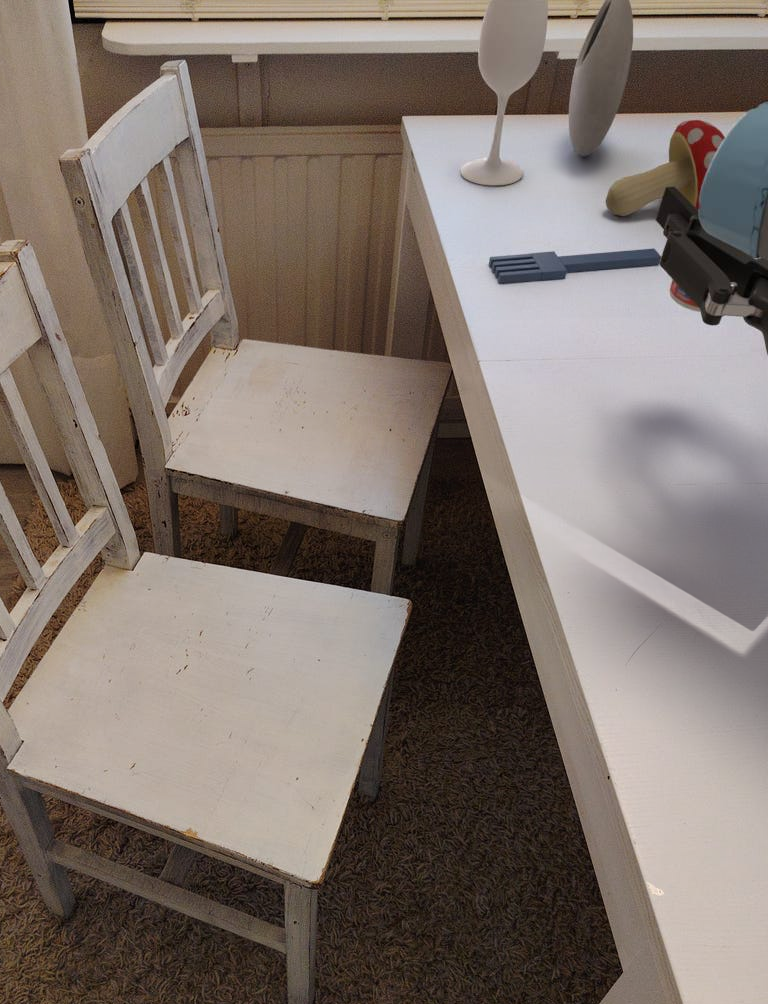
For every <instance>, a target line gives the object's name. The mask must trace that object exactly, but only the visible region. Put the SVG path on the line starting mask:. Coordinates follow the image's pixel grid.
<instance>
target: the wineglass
mask: <svg viewBox="0 0 768 1004" xmlns="http://www.w3.org/2000/svg"><path fill="white" fill-rule="evenodd" d="M548 16H549V0H488V2H487V5H486V7H485V12H484V16H483V19H482V24H481V28H480V35H479V42H478V50H477V51H478V52H477V54H478V55H477V63H478V69H479V73H480V75H481V77H482V79H483V81H484V82H485V84H486V85H487V86H488V87H489V88H490V89H491V90H492V91H494V92H495V94H496V96H497V109H496V119H495V126H494V131H493V136H492V137H493V138H492V141H491V145H490V150H489V155H488V157H481V158H475V159H473V160H470V161H468V162H466V163H465V164H464V165H463V166H462V167H461V169H460V174H461V176H462V177H463V178H464V179H465V180H467V181H469V182H471V183H474V184H478V185H483V186H506V185H510V184H514V183H516V182H518V181H519V180H521V179H522V177H523V176H524V170H523V169H522V168H521V166H520V165H518V164H516V162H513V161H511V160H508V159H506V158H501V157H500V152H501V140H502V139H501V138H502V131H503V125H504V118H505V113H506V109H507V104H508V101H509V100H510V99H509V98H510V97H511V96H512V94H514V93H515V92H516V91H518V90H520V89H521V88H523V87H524V86H525V85H526V84H527V83H528V82H529V81H530V80H531V79H532V78H533V76H534V75H535V73H536V72H537V70H538V68H539V66H540V63H541V60H542V58H543V53H544V49H545V44H546V38H547V31H548V19H549V18H548Z"/></svg>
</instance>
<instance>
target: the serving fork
mask: <svg viewBox="0 0 768 1004" xmlns="http://www.w3.org/2000/svg"><path fill="white" fill-rule="evenodd" d="M661 257H662V255H660V253H659V252H658V251H657V249H656V248H644V249H643V248H642V249H641V248H640V249H630V250H617V251H607V252H594V253H583V254H582V253H581V254H571V255H560V256H558V255H557V253H556V251H554V250H553V251H542V252H541V251H540V252H531V253H521V254H509V255H495V256H490V257H489V262H488V266H489V268H490V269H491V271H492V273H493V274H494V277H495V279H497V282H498V284H510V283H522V282H523V283H524V282H534V281H551V280H562V279H563V280H564V279H566V276H567V273H577V272H578V273H579V272H587V271H599V270H600V271H601V270H613V269H623V268H624V269H625V268H633V267H634V268H637V267H647V266H660V264H659V263H660V260H661Z"/></svg>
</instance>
